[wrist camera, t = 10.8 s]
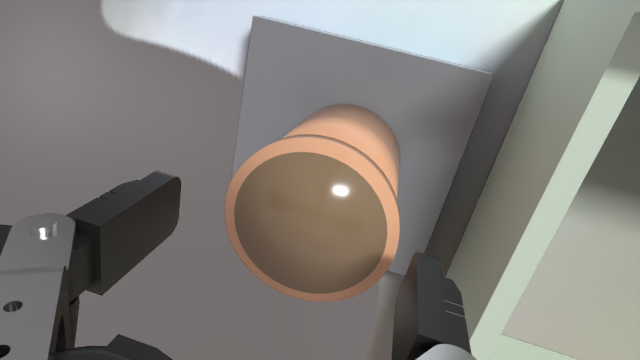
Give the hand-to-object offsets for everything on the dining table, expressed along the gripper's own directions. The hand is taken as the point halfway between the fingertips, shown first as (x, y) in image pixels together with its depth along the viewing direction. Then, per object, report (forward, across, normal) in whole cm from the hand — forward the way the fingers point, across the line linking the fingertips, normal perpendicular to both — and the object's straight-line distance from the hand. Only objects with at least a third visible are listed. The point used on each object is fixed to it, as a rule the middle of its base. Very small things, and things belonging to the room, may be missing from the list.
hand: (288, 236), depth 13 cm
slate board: (+11, 0, 0) cm, 11 cm away
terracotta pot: (+9, 0, 0) cm, 9 cm away
